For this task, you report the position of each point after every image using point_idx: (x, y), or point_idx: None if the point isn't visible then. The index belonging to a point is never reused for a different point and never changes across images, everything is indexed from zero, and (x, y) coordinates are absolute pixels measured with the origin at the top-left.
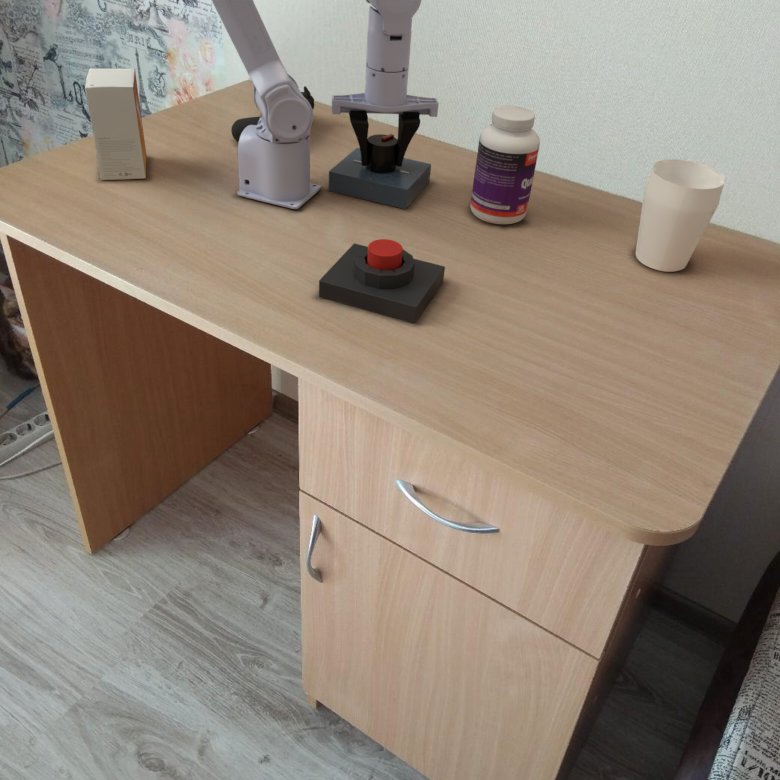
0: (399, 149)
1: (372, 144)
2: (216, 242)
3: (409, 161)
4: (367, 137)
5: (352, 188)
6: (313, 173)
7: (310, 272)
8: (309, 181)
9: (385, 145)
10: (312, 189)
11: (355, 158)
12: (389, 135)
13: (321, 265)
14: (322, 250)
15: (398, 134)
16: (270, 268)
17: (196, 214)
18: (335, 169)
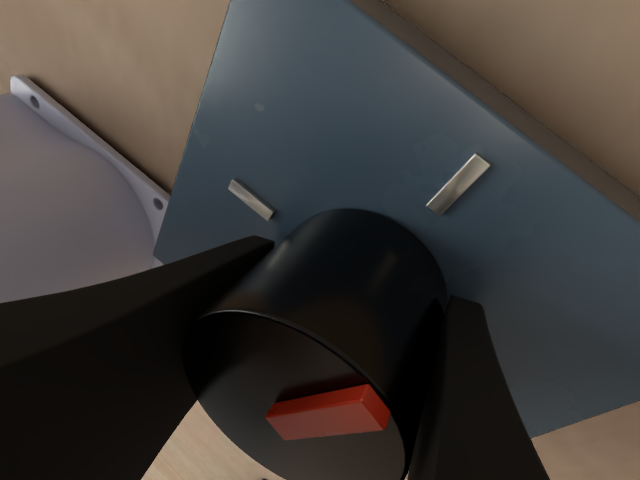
0: (409, 473)
1: (216, 423)
2: None
3: (599, 258)
4: (148, 466)
5: None
6: (145, 55)
7: (205, 465)
8: (124, 264)
9: (290, 475)
10: (158, 231)
11: (241, 144)
12: (334, 422)
13: (218, 462)
14: (216, 435)
15: (428, 468)
16: None
17: None
18: (169, 247)
